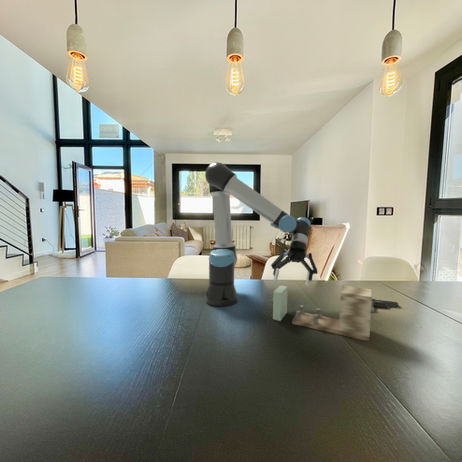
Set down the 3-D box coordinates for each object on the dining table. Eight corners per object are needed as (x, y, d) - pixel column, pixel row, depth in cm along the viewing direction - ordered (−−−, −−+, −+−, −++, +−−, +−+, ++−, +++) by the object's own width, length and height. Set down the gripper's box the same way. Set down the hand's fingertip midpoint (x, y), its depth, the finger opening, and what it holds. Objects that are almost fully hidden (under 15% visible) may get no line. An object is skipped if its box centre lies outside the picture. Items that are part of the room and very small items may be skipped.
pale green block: (269, 318, 93) (270, 291, 92) (277, 310, 101) (277, 285, 100) (280, 320, 91) (281, 292, 90) (286, 312, 99) (287, 286, 98)
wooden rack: (292, 323, 89) (293, 285, 88) (297, 314, 97) (298, 279, 96) (369, 341, 77) (371, 297, 76) (368, 329, 85) (370, 289, 84)
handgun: (409, 312, 97) (395, 300, 109) (362, 306, 101) (354, 295, 113) (408, 318, 98) (395, 306, 109) (361, 312, 101) (353, 301, 113)
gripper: (327, 251, 111) (321, 293, 99) (274, 247, 122) (264, 284, 110) (326, 241, 105) (320, 284, 94) (271, 238, 117) (260, 276, 105)
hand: (290, 284), depth 102 cm, fingers open, 13 cm apart
